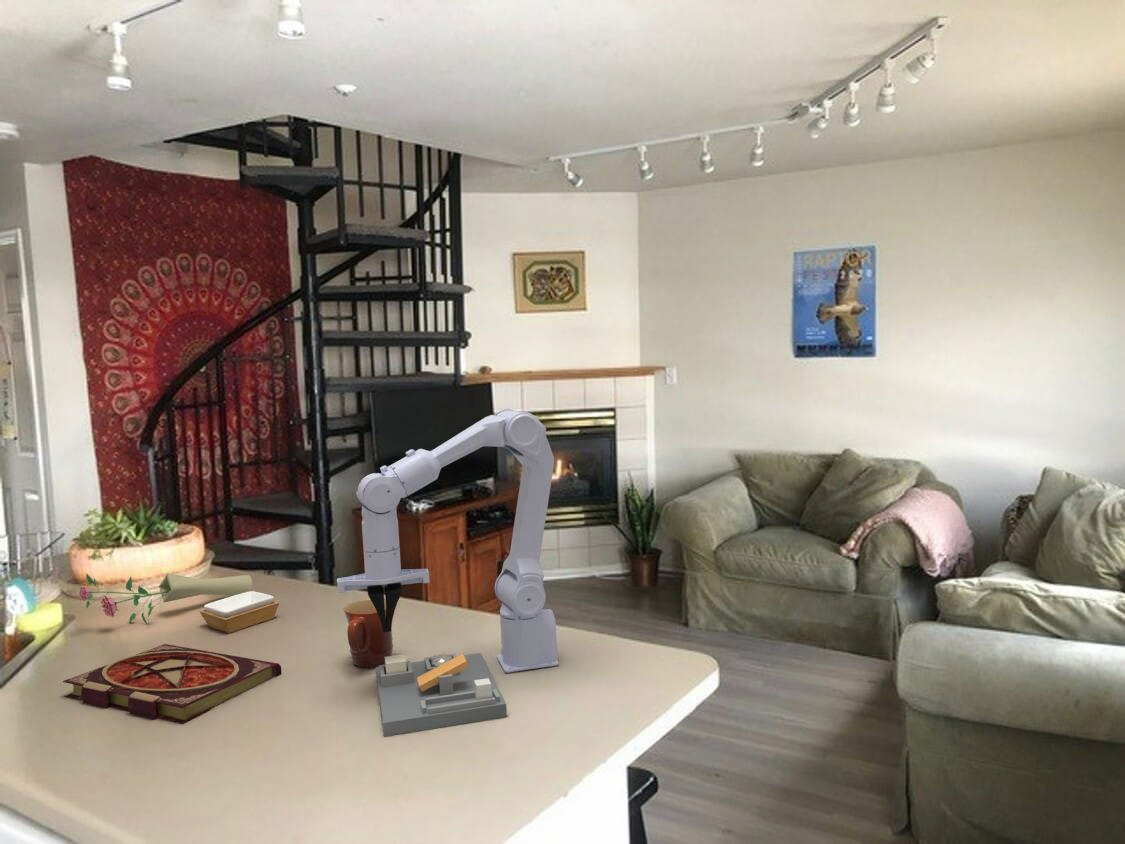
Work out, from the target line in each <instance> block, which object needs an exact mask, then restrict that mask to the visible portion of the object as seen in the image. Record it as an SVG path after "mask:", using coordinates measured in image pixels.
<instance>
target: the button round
mask: <svg viewBox="0 0 1125 844" xmlns="http://www.w3.org/2000/svg"><path fill="white" fill-rule="evenodd" d="M431 657H432V658H431V664H432V667H435V664H442V663H446V662H448V661H449V660H451V659H452V656H451V655H447V654H445V653H444V654H437V655H434V657H433V656H431Z"/></svg>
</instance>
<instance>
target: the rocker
mask: <svg viewBox="0 0 1125 844" xmlns="http://www.w3.org/2000/svg"><path fill="white" fill-rule="evenodd" d="M464 655H465V654H464V653H461V654H459V655H456V656H457V657H455V658H453V659H451V660H449V661H448V662H446V663H444V664H442V665H440V666H438V667H436V668H434V669H432V670H431V671H429V672H427V673H425V674H423V675H421V676H419V677H417V680H418V684H419V687H420V689H421V691H424V690H426V689H428V688H430V687H432V686H434V685H436V684H437V683H439V676H442V675H449V674H452V675H454V674H456V673H458V672H460V671H462V670H464V669H465V668H467V667H469V666H468V663H467V661H466V659H465V657H464Z"/></svg>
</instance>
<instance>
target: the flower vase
mask: <svg viewBox="0 0 1125 844" xmlns="http://www.w3.org/2000/svg"><path fill="white" fill-rule="evenodd" d="M85 574H86V576H85V579H86V582H87V583H89V584H93V586H94V587H96V588H97V591H91V590H90V589H89V588H88V587H87V586H83V585H82V586H81V587H80V588H79V591H78V594H79V597H80V600H82V601H83V602H85V601H86V600H88V601H86V605H85V609H88V608H89V607H90V605H91V604H93V603H95V602H97V601H99V599H101V601H100V604H101V607H102V608H103V610H102V611H103V612H104V613H105V616H107V617H108V616H109V617H110V618H111V617H112V619H113V618H114V617H115V613H116V611H118V612H120V610H119V609H118V607H117V604H120V603H124V602H127V601H131V600H133V605H134V606H135V607H137V606H138V605H139V604H140V601H139V600H140V598H144V597H145V598H146V597H148V598H147V599H146V601H148V600H149V599H150V598H151V597H152V596H157V595H161V597H159V598H157V599H154V600H153V599H151V600H150V602H149V604H148V605H147V608H148V612H147V618H150V616H151V614H152V611H153V609H154V608H155V607H156V605H159V604H160V602H161V601H159V602H158V603H157V604H155V605H152V603H153V602H155V601H156V600H161V599H162V601H163V603H168V602H173V601H178V600H181V599H183V600H184V599H186V598H191V597H196V596H203V595H205V596H206V595H207V596H211V595H215V596H217V595H219V596H234V595H238V594H242V593H245V592H249V591H253V586H254V585H253V579H252V577H251V575H249V574H243V575H235V576H233V575H232V576H225V577H214V578H212V577H211V578H195V577H190V576H189V577H188V576H183V575H178V574H173V573H169V572H168V573H166V575H165V576H164V578H163V579H162V581H161V582H160V584H159V585H158V588H159V591H160V592H156V593H149V592H148V591H147V589H145V588H143V587H142V586H140V585H139V586H138V587H137V592H134V589H133V580H132V576H130V577H129V579H128V580H127V582H126V585H125V589H126V591H127V590H128V591H129V592H120V591H100V589H99V585H98V582H97V579H95V578H93V579H92V578H91V576H90V575H89V574H88V573H85ZM99 593H103V594H104V593H106V594H104V595H102V596H99V597H98V596H93V594H99ZM108 594H124V595H132V597H131V598H127V599H126V598H125V599H123V600H119V601H115V600H114V599H113V598H112V597H108ZM92 598H96V600H94V601H92V602H91V603H90V601H89V600H91V599H92ZM97 598H98V599H97ZM145 604H146V602H143V605H142V606H141V608H140V610H139V611H138V613H137V614H139V613H140V611H141V610H145V607H144V605H145ZM137 614H136V613H134V612H133V613H132V614H131V615H130V617H129V620H128V624H130V623H132V622H133V621H134V620H135V619H136V616H137ZM141 618H142V620H143V622H144V623H145V624H146V625H148V622H147V619H146V618H145V613H144V612H142V613H141Z"/></svg>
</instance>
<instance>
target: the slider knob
mask: <svg viewBox="0 0 1125 844" xmlns="http://www.w3.org/2000/svg"><path fill="white" fill-rule="evenodd" d="M474 688H475V699H476V700H480V699H487V698H492V693H491V683H490V681H489V678H487V679H480V680H474Z"/></svg>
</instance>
